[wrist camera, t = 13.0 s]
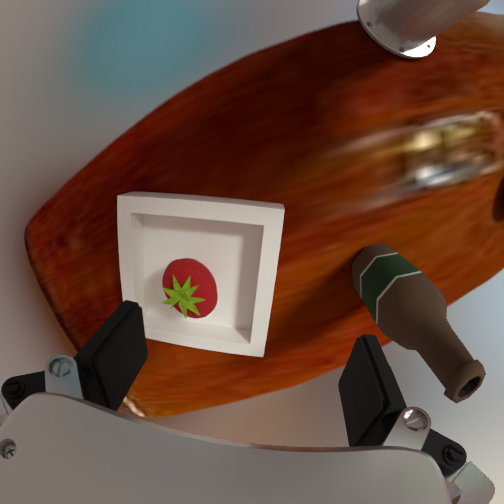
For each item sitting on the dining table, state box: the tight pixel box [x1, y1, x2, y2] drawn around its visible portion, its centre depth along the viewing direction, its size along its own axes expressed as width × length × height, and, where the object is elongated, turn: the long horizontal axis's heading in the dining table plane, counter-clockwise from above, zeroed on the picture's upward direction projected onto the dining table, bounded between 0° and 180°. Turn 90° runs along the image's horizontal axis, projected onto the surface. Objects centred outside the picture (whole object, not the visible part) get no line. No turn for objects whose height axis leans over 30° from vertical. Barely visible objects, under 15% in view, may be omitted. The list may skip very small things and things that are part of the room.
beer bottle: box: [352, 244, 486, 403], centre depth 24 cm, size 8×8×24 cm
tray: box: [117, 191, 285, 357], centre depth 35 cm, size 20×20×4 cm
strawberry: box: [161, 258, 218, 319], centre depth 31 cm, size 6×8×10 cm
